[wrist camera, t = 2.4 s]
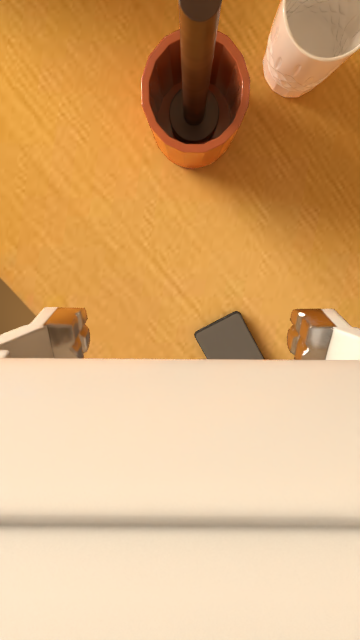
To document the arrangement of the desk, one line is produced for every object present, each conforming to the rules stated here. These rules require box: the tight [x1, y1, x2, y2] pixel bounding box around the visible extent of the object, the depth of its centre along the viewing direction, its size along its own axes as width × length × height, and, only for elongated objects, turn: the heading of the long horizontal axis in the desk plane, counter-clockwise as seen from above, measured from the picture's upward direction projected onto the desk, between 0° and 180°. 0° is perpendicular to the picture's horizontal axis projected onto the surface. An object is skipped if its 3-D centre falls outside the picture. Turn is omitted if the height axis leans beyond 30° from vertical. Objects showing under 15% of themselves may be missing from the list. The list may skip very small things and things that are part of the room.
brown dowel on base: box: [169, 0, 222, 144], centre depth 26 cm, size 5×5×21 cm
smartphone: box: [195, 311, 265, 360], centre depth 44 cm, size 7×1×15 cm
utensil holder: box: [141, 29, 250, 168], centre depth 32 cm, size 9×9×9 cm
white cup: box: [263, 0, 360, 97], centre depth 29 cm, size 8×8×10 cm
